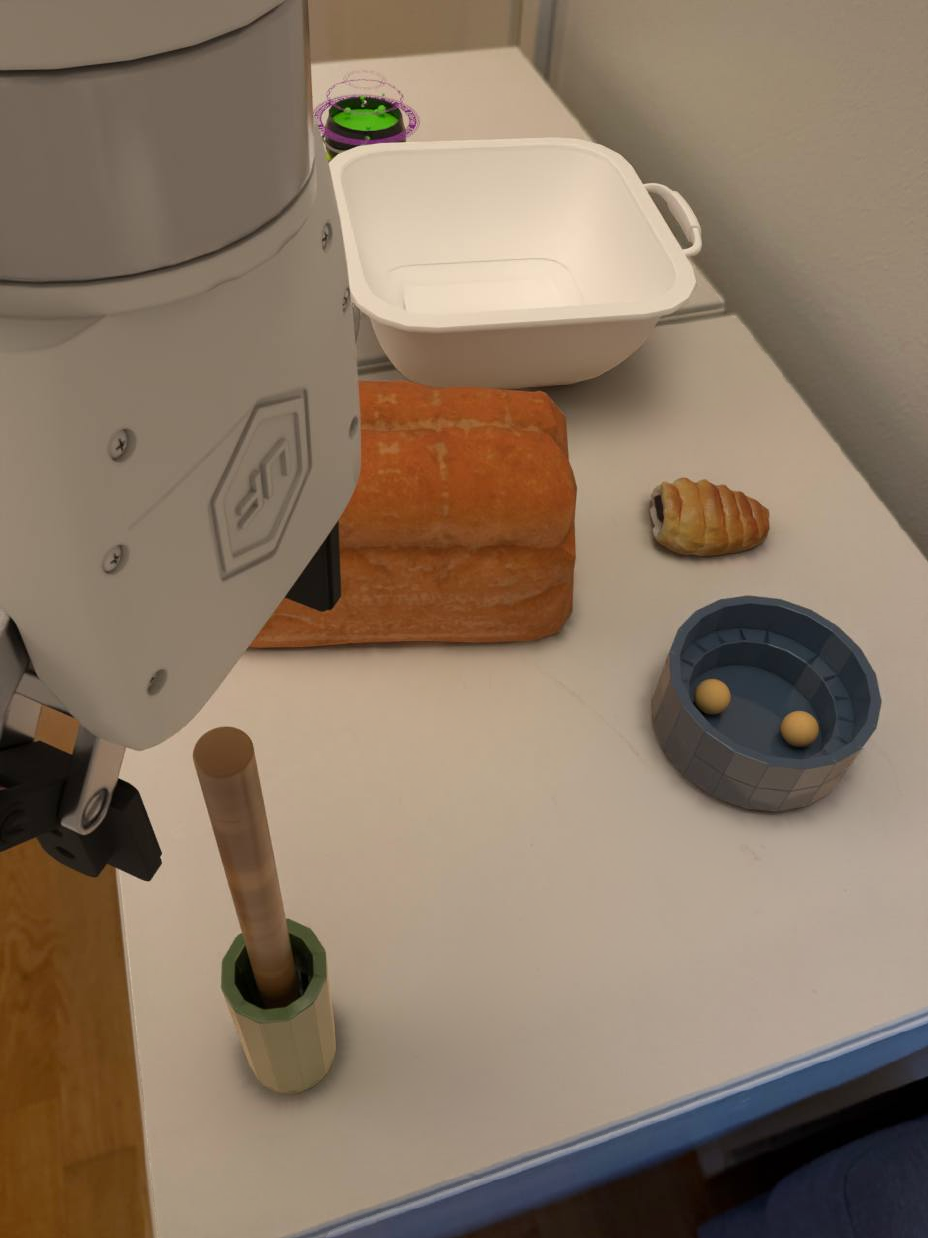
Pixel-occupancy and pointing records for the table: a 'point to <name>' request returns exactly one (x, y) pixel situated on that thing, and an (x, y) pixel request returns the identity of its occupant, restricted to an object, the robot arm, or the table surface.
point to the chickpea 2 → (799, 729)
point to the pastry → (706, 518)
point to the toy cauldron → (363, 121)
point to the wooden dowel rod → (248, 858)
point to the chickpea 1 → (712, 696)
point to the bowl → (765, 702)
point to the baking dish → (508, 257)
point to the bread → (449, 523)
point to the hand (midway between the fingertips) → (208, 707)
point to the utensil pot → (284, 1016)
